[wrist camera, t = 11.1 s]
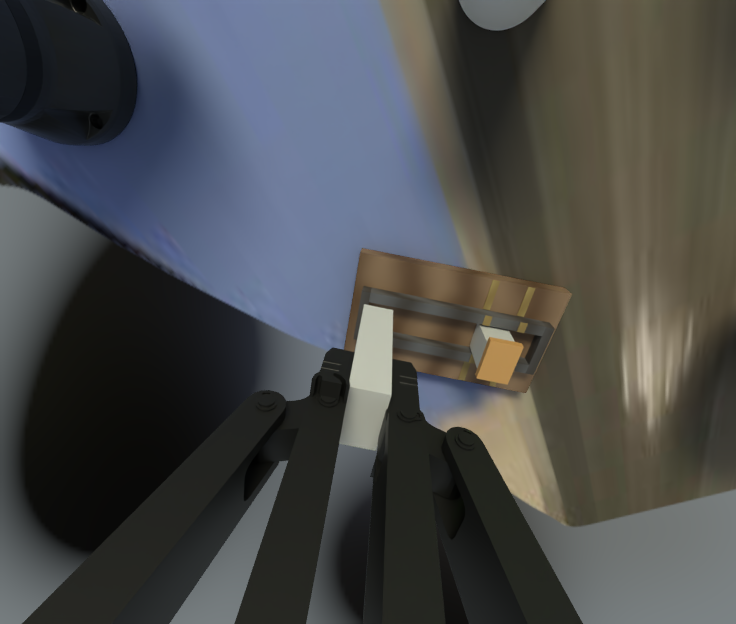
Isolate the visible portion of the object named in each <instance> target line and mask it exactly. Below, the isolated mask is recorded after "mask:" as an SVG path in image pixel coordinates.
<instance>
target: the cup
mask: <svg viewBox="0 0 736 624" xmlns="http://www.w3.org/2000/svg"><path fill="white" fill-rule="evenodd" d="M545 1H546V0H459V2H460V5H461V7H462V9H463V11H464V12H465V14H466V15H467V16H468V18H469V19H470V20H471V21H472V22H474V23H475V24H476V25H478V26H480V27H482V28H484V29H487V30H494V31H499V30H506V29H509V28H512V27H515V26H517V25H519V24H520V23H522V22H523V21H525V20H526V19H527V18H529V17H530V16H531V15H532V14H533V13H534V12H535V11H536V10H537V9H538V8H539V7H540V6H541V5H542V4H543V3H544V2H545Z"/></svg>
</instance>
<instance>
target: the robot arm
mask: <svg viewBox="0 0 736 624" xmlns="http://www.w3.org/2000/svg"><path fill="white" fill-rule="evenodd" d="M136 94H137V80H136V70H135V65H134V61H133V57H132V53H131V50H130V47H129V44H128V42H127V39H126V37H125V35H124V33H123V31H122V29H121V27H120V25H119V23H118V22H117V20H116V18H115V17H114V15H113V14H112V12H111V11H110V9H109V8H108V7H107V5H106V4H105V3H104V2H103V1H102V0H0V122H2V123H5V124H7V125H10V126H13V127H15V128H18V129H21V130H23V131H26V132H29V133H31V134H34V135H37V136H39V137H42V138H45V139H47V140H50V141H53V142H57V143H62V144H68V145H97V144H102V143H105V142H107V141H110V140H111V139H113V138H115V137H116V136H117V135H119V134H120V133H121V132H122V131H123V129H124V128H125V127H126V125H127V124H128V122H129V120H130V118H131V116H132V113H133V110H134V107H135V102H136ZM392 342H393V310H390V309H385V308H380V307H376V306H371V305H366V304H364V308H363V312H362V317H361V322H360V327H359V332H358V337H357V342H356V346H355V351H354V352H352V351H347V350H342V349H337V348H331V349H330V350H329V351H328V352H327V353H326V354H325V357H324V360H323V364H322V367H321V370H320V372H318V373H316V374H315V375H314V376H313V378H312V383H311V390H310V395H309V396H308V397H306V398H305V399H301V400H296V401H286V400H285V398H284V397H283V396H282V395H281V394H279V393H277V392H274V391H270V390H268V391H267V390H266V391H259V392H256V393H254V394H252V395H251V396H249V397H248V398H247V399H246V400H245V401H244V402H243V403H242V404H241V405H240V406H239V407H238V408H237V409H236V410H235V411H234V412H233V413H232V414H231V415H230V416H229V417H228V418H227V419H226V420H225V421H224V422H223V423H222V424H221V425H220V426H219V427H218V428H217V429H216V430H215V431H214V432H213V433H212V434H211V435H210V436H209V437H208V438H207V439H206V440H205V441H204V442H203V443H202V444H201V445H200V446H199V447H198V448H197V449H196V450H195V451H194V452H193V453H192V454H191V455H190V456H189V457H188V458H187V459H186V460H185V461H184V462H183V463H182V464H181V465H180V466H179V467H178V468H177V469H176V470H175V471H174V472H173V473H172V475H170V476H169V477H168V478H167V479H166V480H165V481H164V482H163V483H162V484H161V485H160V486H159V487H158V488H157V489H156V490H155V491H154V492H153V493H152V494H151V496H149V497H148V498H147V499H146V500H145V501H144V503H142V504H141V505H140V506H139V507H138V508H137V509H136V510H135V511H134V512H133V513H132V514H131V515H130V516H129V517H128V518H127V519H126V520H125V521H124V522H123V524H121V525H120V526H119V527H118V528H117V529H116V530H115V531H114V532H113V533H112V534H111V535H110V536H109V537H108V538H107V539H106V540H105V541H104V542H103V543H102V544H101V545H100V546H99V547H98V548H97V549H96V550H95V551H94V552H93V553H92V554H91V555H90V556H89V558H87V559H86V560H85V561H84V562H83V563H82V564H81V565H80V566H79V567H78V568H77V569H76V570H75V571H74V572H73V573H72V574H71V575H70V576H69V578H67V579H66V580H65V582H63V584H61V585H60V586H59V587H58V588H57V589H56V590H55V591H54V593H52V594H51V595H50V596H49V597H48V598H47V599H46V600H45V601H44V602H43V603H42V604H41V605H40V607H38V609H36V610H35V611H34V612H33V613H32V614H31V615H30V616H29V617H28V618H27V619H26V620H25V621H24V622H23V623H22V624H169V623H170V622H171V620H172V619H173V617H174V616H175V614H176V613H177V612H178V610H179V609H180V607H181V605H182V604H183V603H184V601H185V600H186V598H187V597H188V595H189V594H190V592H191V591H192V590H193V588H194V587H195V585H196V584H197V582H198V581H199V579H200V578H201V576H202V575H203V573H204V572H205V571H206V569H207V568H208V566H209V565H210V563H211V562H212V560H213V559H214V557H215V556H216V555H217V553H218V551H219V550H220V549H221V547H222V546H223V544H224V543H225V541H226V540H227V539H228V537H229V536H230V534H231V533H232V531H233V529H234V528H235V527H236V525H237V524H238V522H239V521H240V519H241V518H242V517H243V515H244V514H245V512H246V511H247V509H248V508H249V506H250V505H251V503H252V502H253V501H254V499H255V498H256V496H257V494H258V493H259V492H260V490H261V489H262V487H263V486H264V484H265V483H266V482H267V480H268V479H269V477H270V476H271V474H272V473H273V471H274V470H275V468H276V467H277V465H278V463H279V461H286V460H288V463H287V467H286V470H285V473H284V476H283V479H282V482H281V485H280V488H279V491H278V494H277V497H276V500H275V503H274V506H273V509H272V512H271V515H270V518H269V521H268V525H267V527H266V530H265V533H264V536H263V539H262V542H261V545H260V549H259V551H258V554H257V558H256V560H255V564H254V566H253V569H252V572H251V575H250V579H249V582H248V585H247V588H246V591H245V594H244V597H243V600H242V603H241V606H240V609H239V612H238V615H237V618H236V621H235V624H306V620H307V615H308V609H309V604H310V599H311V593H312V587H313V582H314V577H315V572H316V566H317V561H318V555H319V550H320V544H321V539H322V533H323V528H324V523H325V517H326V511H327V506H328V500H329V495H330V490H331V484H332V479H333V474H334V468H335V462H336V457H337V452H338V446H339V444H344V445H349V446H354V447H359V448H364V449H369V450H374V451H376V448H377V444H378V449H377V456H376V459H375V463H374V466H373V469H372V473H371V476H370V477H373V489H372V503H371V517H370V531H369V545H368V560H367V574H366V587H365V601H364V616H363V624H445V614H444V604H443V594H442V584H441V574H440V563H439V553H438V543H437V533H436V524H437V527H438V530H439V533H440V536H441V539H442V542H443V545H444V548H445V551H446V554H447V557H448V560H449V564H450V566H451V569H452V573H453V575H454V579H455V582H456V585H457V588H458V591H459V594H460V597H461V600H462V603H463V606H464V609H465V612H466V615H467V618H468V621H469V624H583V623H582V621H581V620H580V618H579V616H578V614H577V612H576V611H575V609H574V607H573V605H572V603H571V601H570V599H569V598H568V596H567V594H566V592H565V590H564V589H563V587H562V585H561V583H560V582H559V580H558V578H557V576H556V574H555V572H554V570H553V569H552V567H551V565H550V563H549V561H548V560H547V558H546V556H545V554H544V552H543V551H542V549H541V547H540V545H539V543H538V541H537V540H536V538H535V536H534V534H533V532H532V531H531V529H530V527H529V525H528V523H527V522H526V520H525V518H524V516H523V514H522V513H521V511H520V509H519V507H518V505H517V503H516V502H515V500H514V498H513V496H512V494H511V493H510V491H509V489H508V487H507V485H506V484H505V482H504V480H503V478H502V476H501V474H500V473H499V471H498V469H497V467H496V465H495V464H494V462H493V460H492V458H491V456H490V455H489V453H488V451H487V449H486V447H485V445H484V444H483V442H482V441H481V439H480V438H479V437H478V436H477V435H476V434H475V433H473V432H472V431H470V430H468V429H466V428H462V427H453V428H451V429H449V430H448V431H447V433H446V432H444V431H442V430H440V429H437V428H435V427H434V426H432V425H430V424H429V423H428V422H427V421H426V420H425V417H424V414H423V413H422V412H421V411H420V407H419V395H418V386H417V385H418V383H417V372H416V369H415V368H414V366H413V365H412V363H411V362H406V361H401V360H396V359H392ZM435 521H436V523H435Z"/></svg>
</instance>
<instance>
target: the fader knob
mask: <svg viewBox="0 0 736 624" xmlns="http://www.w3.org/2000/svg"><path fill="white" fill-rule="evenodd" d="M469 346H470V349H471V352H472V355H473V358H474V361H475V364H476V367H477V371H476V373H475V375H476V378H477V379H482V380H487V381H492V382H497V383H502V384H507V385H508V383H509V380H510V378H511V376H512V373H513V371H514V369H515V366H516V364H517V362H518V360H519V357H520V355H521V353H522V350H523V348H524V347H523V345H522V343H518V342H515V341H514V339H513V337H512V335H511V334H510V332H509V330H507V329H502V328H497V327H492V326H485V325H482V324H477V325H476V328H475V331H474V334H473V337H472V340H471V343H470V345H469Z"/></svg>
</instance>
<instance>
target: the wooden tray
mask: <svg viewBox="0 0 736 624" xmlns="http://www.w3.org/2000/svg"><path fill="white" fill-rule="evenodd" d="M571 296H572V294H571V293H570V292H569V291H568V290H566V289H565V288H563V287H558V286H552V285H547V284H542V283H537V282H532V281H527V280H522V279H517V278H512V277H506V276H501V275H496V274H491V273H486V272H481V271H476V270H471V269H466V268H461V267H455V266H450V265H445V264H440V263H435V262H430V261H425V260H420V259H415V258H409V257H404V256H399V255H394V254H389V253H384V252H379V251H374V250H369V249H364V248H362V250H361V252H360V258H359V264H358V269H357V275H356V281H355V287H354V293H353V299H352V305H351V311H350V317H349V323H348V329H347V335H346V341H345V347H344V350H347V351H352V352H354V351H355V346H356V342H357V337H358V332H359V327H360V322H361V317H362V312H363V308H364V304H366V305H371V306H376V307H380V308H385V309H390V310H393V342H392V359H396V360H401V361H406V362H411V363H412V365H413V366H414V368H415V369H416V371H417V372H422V373H427V374H432V375H437V376H442V377H447V378H452V379H457V380H462V381H468V382H473V383H478V384H483V385H488V386H493V387H498V388H503V389H508V390H513V391H518V392H523V393H526V392H527V390H528V388H529V386H530V383H531V381H532V379H533V377H534V375H535V373H536V371H537V368H538V366H539V364H540V362H541V360H542V358H543V356H544V353H545V351H546V349H547V347H548V345H549V343H550V341H551V338H552V336H553V334H554V332H555V330H556V328H557V326H558V323H559V321H560V319H561V317H562V315H563V313H564V311H565V308H566V306H567V304H568V302H569V300H570V298H571ZM477 324H482V325H485V326H492V327H497V328H502V329H507V330H509V332H510V334H511V335H512V337H513V339H514V341H515V342H518V343H522V345H523V347H524V348H523V350H522V353H521V355H520V357H519V360H518V362H517V364H516V366H515V369H514V371H513V373H512V376H511V378H510V380H509V383H508V385H507V384H502V383H497V382H492V381H487V380H482V379H477V378H476V375H475V373H476V371H477V367H476V364H475V361H474V358H473V355H472V352H471V349H470V346H469V345H470V343H471V340H472V337H473V334H474V331H475V328H476V325H477Z"/></svg>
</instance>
